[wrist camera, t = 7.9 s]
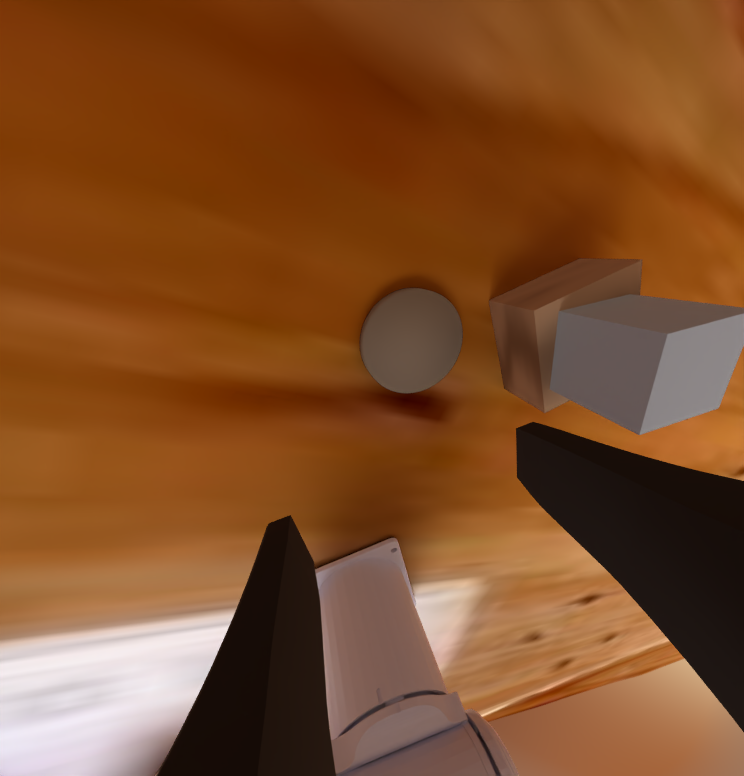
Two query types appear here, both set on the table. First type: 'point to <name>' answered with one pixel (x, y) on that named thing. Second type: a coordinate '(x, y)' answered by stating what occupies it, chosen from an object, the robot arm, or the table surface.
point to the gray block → (646, 358)
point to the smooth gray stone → (411, 340)
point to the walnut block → (551, 320)
